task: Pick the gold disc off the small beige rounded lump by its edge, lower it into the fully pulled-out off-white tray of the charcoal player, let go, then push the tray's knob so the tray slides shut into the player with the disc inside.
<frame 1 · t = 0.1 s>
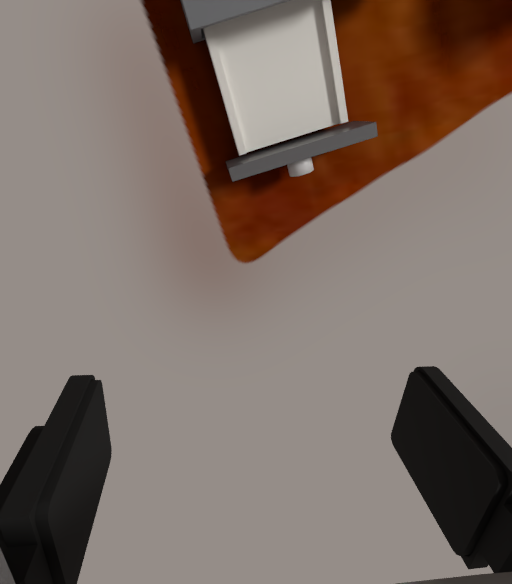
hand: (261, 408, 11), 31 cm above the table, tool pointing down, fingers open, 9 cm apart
tray: (282, 82, 32), point 3 cm above the table, slide at 10.0 cm
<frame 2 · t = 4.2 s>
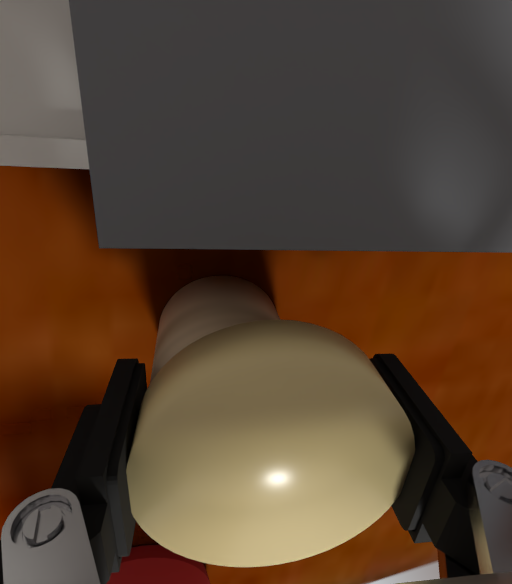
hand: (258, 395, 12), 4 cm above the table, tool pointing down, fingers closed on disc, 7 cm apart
beige rounded lump: (220, 330, 15), on the table
canned food: (147, 577, 22), on the table
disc: (265, 425, 10), point 6 cm above the table, touching gripper
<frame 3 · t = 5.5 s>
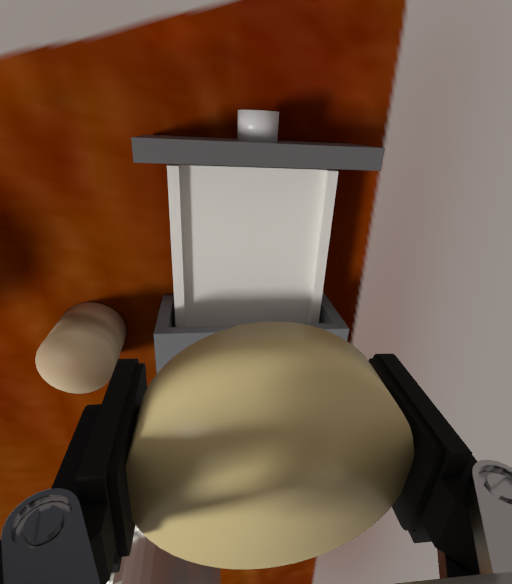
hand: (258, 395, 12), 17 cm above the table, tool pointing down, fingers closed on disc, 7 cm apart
beige rounded lump: (93, 330, 29), on the table
housing: (243, 366, 32), on the table
tray: (252, 244, 24), point 3 cm above the table, slide at 10.0 cm
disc: (263, 427, 10), point 19 cm above the table, touching gripper
when the fingers open (3 cm above the table, at t = 7.8 s): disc drops 2 cm, resting on tray.
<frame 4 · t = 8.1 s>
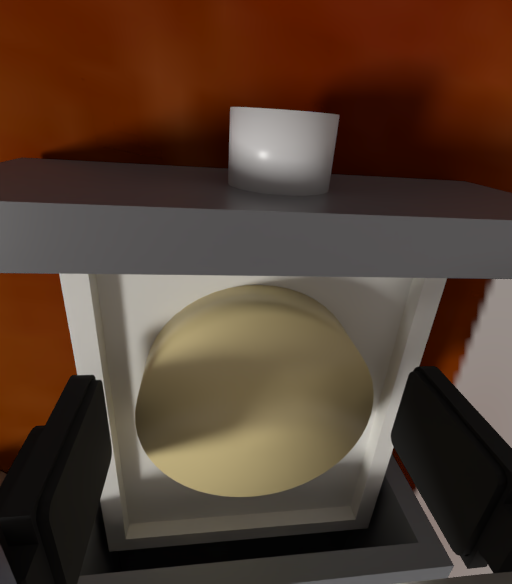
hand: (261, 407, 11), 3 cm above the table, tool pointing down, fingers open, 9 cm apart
housing: (235, 533, 19), on the table
tray: (259, 394, 11), point 3 cm above the table, slide at 10.0 cm, touching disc
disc: (251, 378, 12), point 2 cm above the table, touching tray
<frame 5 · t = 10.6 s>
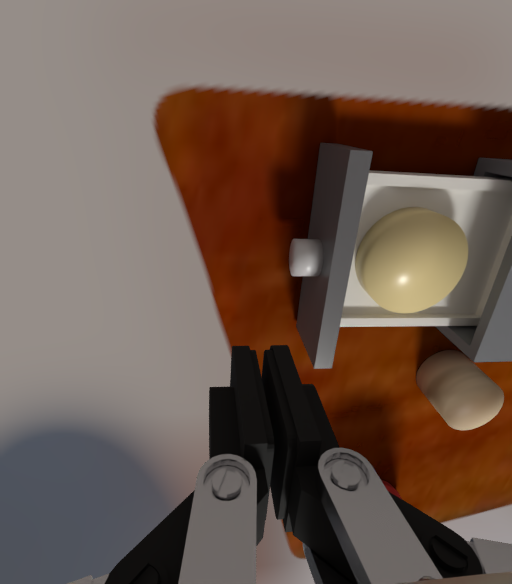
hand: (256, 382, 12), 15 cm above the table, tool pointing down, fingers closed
beige rounded lump: (442, 372, 34), on the table
tray: (408, 259, 25), point 3 cm above the table, slide at 10.0 cm, touching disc
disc: (403, 257, 25), point 2 cm above the table, touching tray
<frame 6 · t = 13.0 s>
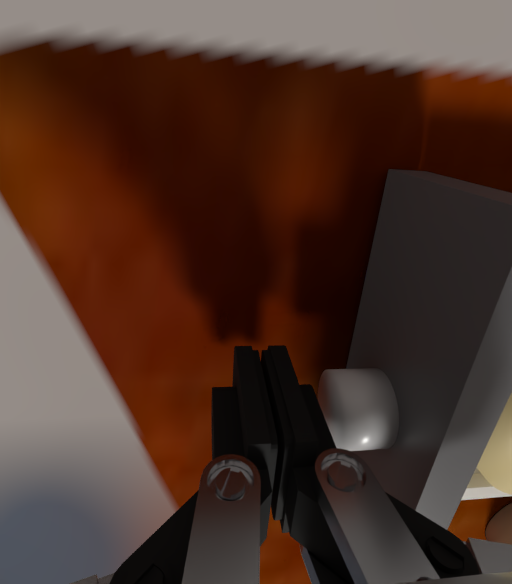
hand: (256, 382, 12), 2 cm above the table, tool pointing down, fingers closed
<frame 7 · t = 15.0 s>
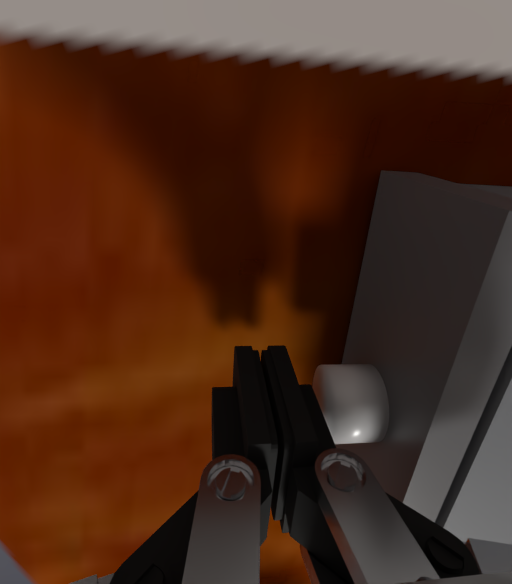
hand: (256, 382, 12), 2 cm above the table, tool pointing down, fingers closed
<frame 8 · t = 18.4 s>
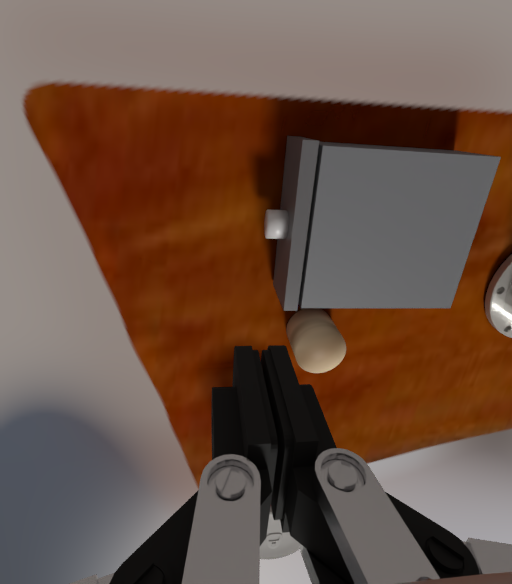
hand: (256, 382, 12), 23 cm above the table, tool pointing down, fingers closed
beige rounded lump: (309, 327, 39), on the table
housing: (366, 219, 35), on the table
canned food: (260, 446, 46), on the table
tray: (357, 227, 32), point 3 cm above the table, slide at 0.0 cm, touching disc
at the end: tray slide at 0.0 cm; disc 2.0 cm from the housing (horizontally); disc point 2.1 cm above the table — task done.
